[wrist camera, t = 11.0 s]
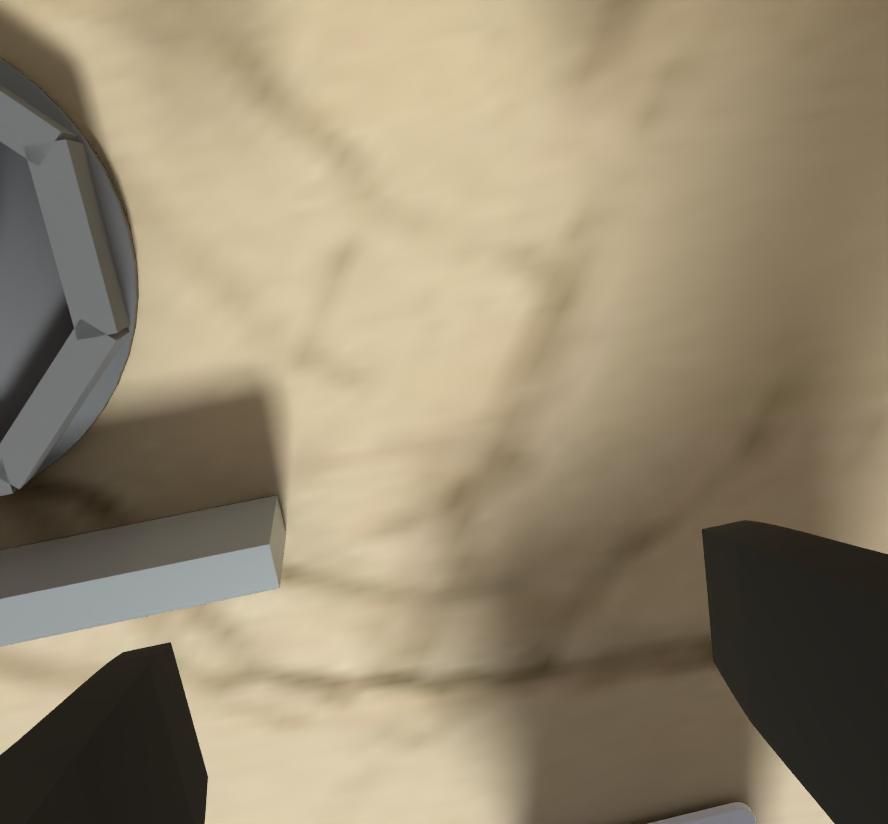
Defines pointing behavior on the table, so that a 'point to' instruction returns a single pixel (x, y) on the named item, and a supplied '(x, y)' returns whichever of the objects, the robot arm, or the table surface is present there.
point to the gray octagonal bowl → (56, 282)
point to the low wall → (140, 569)
